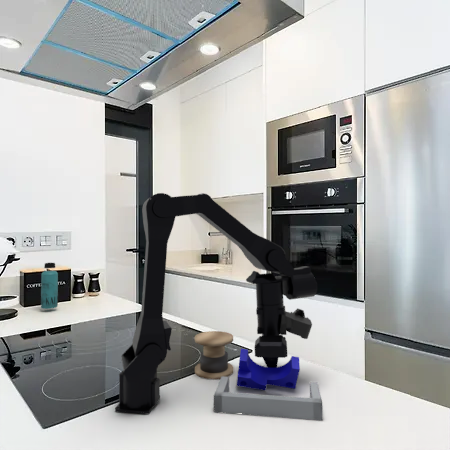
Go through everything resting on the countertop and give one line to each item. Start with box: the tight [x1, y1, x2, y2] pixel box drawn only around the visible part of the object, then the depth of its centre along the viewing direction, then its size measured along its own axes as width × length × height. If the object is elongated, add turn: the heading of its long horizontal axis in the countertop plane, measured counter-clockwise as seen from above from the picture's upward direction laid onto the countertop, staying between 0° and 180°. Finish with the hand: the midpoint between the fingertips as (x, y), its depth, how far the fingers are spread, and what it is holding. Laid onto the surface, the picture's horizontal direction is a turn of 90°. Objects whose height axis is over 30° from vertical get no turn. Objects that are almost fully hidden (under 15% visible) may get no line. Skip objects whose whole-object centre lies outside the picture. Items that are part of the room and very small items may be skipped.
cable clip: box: [236, 348, 301, 391], centre depth 73 cm, size 12×4×6 cm
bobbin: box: [194, 330, 234, 380], centre depth 83 cm, size 9×9×8 cm
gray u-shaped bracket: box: [213, 376, 324, 421], centre depth 67 cm, size 19×8×3 cm, turn 81°
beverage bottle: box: [40, 262, 59, 310], centre depth 148 cm, size 6×7×20 cm
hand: (273, 374), depth 77 cm, fingers closed
